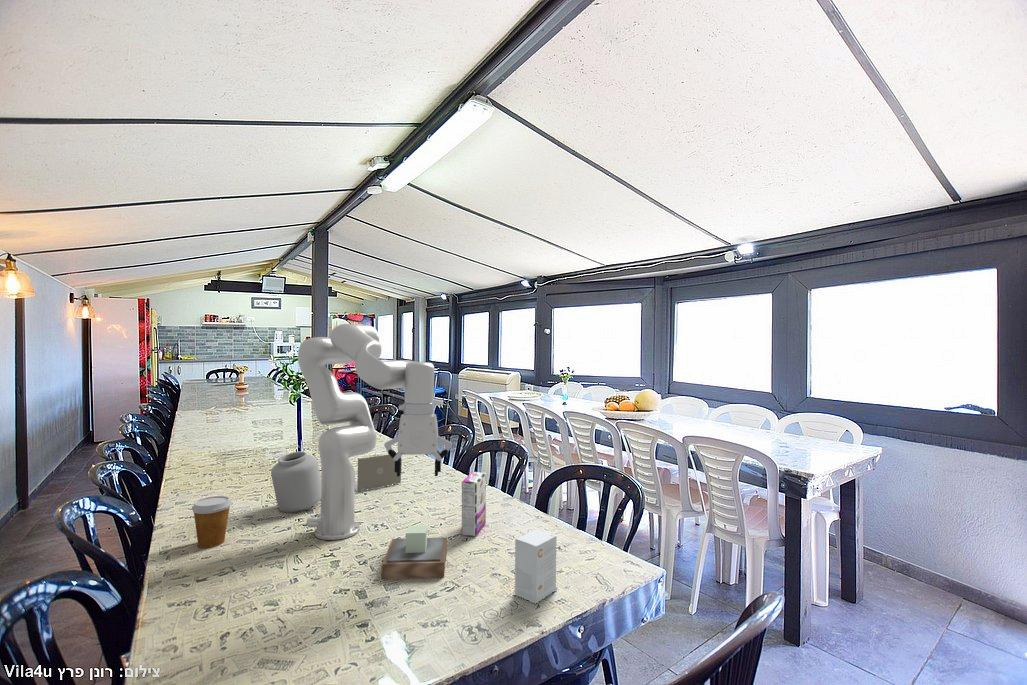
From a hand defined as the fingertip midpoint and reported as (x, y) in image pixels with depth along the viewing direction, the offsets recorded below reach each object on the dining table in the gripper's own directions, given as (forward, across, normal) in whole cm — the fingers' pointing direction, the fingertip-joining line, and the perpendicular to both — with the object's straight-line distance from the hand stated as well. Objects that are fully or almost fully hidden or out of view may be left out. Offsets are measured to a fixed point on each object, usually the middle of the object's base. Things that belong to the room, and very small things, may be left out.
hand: (417, 474), depth 122 cm
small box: (+23, +29, -16) cm, 41 cm away
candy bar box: (+23, +15, +22) cm, 35 cm away
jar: (+24, -46, +43) cm, 67 cm away
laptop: (+24, -25, +70) cm, 78 cm away
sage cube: (+19, 0, 0) cm, 19 cm away
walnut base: (+23, 0, 0) cm, 23 cm away
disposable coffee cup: (+24, -59, +16) cm, 65 cm away
